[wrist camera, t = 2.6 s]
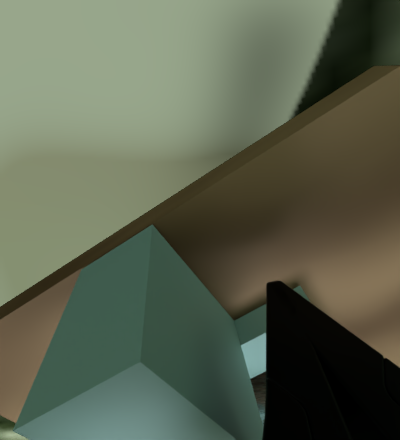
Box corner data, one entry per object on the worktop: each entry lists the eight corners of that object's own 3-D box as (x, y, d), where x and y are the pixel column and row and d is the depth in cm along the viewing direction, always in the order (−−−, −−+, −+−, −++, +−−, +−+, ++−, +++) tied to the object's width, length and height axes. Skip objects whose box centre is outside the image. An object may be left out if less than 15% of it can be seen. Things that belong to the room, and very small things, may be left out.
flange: (365, 391, 15) (447, 523, 11) (220, 456, 17) (240, 594, 12) (231, 173, 9) (297, 277, 4) (17, 310, 10) (-93, 488, 6)
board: (455, 358, 17) (474, 377, 16) (175, 482, 20) (176, 504, 19) (373, 65, 9) (401, 65, 8) (-62, 346, 12) (-84, 372, 11)
